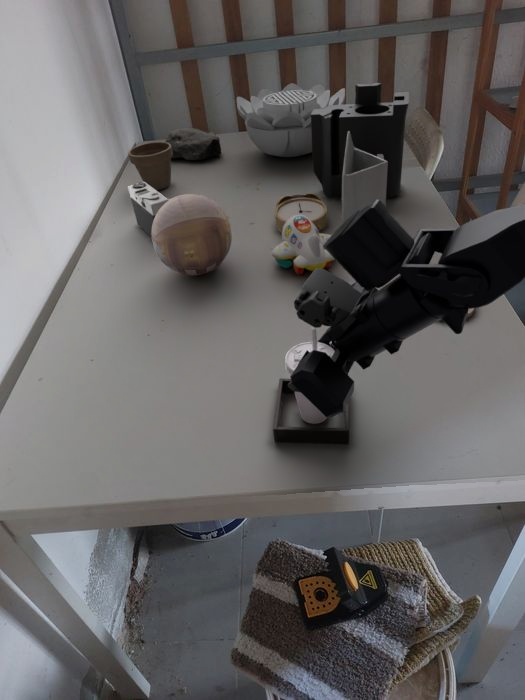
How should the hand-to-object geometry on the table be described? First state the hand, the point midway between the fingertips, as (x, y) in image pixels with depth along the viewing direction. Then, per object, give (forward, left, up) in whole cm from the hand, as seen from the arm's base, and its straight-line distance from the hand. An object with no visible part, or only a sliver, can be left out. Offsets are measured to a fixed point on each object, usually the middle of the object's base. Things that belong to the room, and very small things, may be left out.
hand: (301, 370), depth 65 cm
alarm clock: (+4, -59, -8) cm, 59 cm away
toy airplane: (+2, -41, -8) cm, 41 cm away
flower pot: (+44, -84, -8) cm, 95 cm away
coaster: (-22, -25, -8) cm, 34 cm away
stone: (+39, -105, -8) cm, 112 cm away
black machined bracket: (-9, -75, -8) cm, 76 cm away
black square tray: (-1, 0, -8) cm, 8 cm away
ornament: (+23, -39, -8) cm, 46 cm away
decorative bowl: (+8, -105, -8) cm, 105 cm away
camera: (+35, -57, -8) cm, 67 cm away
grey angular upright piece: (-10, -56, -8) cm, 57 cm away
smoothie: (-1, 0, -7) cm, 7 cm away
